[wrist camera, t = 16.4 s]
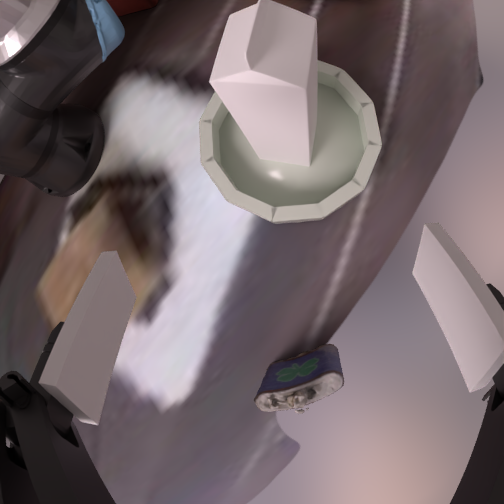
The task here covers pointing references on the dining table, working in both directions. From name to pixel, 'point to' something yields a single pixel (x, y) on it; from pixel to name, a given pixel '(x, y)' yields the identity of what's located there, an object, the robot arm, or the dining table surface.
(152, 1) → the plant pot
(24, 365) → the dining table surface
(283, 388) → the flask
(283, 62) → the milk
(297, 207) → the bowl
